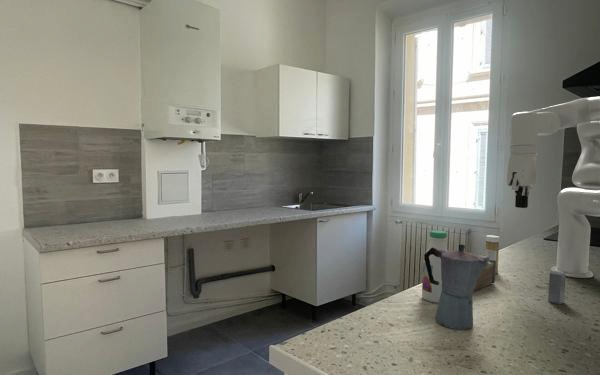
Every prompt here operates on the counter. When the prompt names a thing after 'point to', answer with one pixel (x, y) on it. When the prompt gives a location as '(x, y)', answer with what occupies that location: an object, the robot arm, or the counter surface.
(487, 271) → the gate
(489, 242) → the sprinkles bottle
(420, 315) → the counter surface
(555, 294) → the grey rectangular blocks
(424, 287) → the milk bottle
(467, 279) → the moka pot
